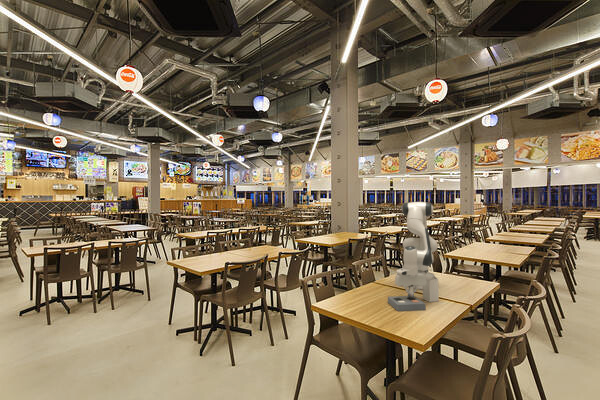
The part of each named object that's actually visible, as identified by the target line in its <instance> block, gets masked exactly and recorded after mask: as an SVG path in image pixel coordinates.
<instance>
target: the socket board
mask: <svg viewBox="0 0 600 400" xmlns="http://www.w3.org/2000/svg"><path fill="white" fill-rule="evenodd" d="M387 303H388V304H389V305H390V306H391V307H393V309H395V311H397V312H413V311H426V309H427V308H426V305H427V304H426V303H425V302H424V301H422V300H421V299H419V298H418V297H416V296H415V295H414V300H409V299H408V295H398V296H397V295H392V296H387Z"/></svg>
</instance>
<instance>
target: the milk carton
mask: <svg viewBox="0 0 600 400" xmlns="http://www.w3.org/2000/svg"><path fill="white" fill-rule="evenodd" d="M439 296H440V295H439V278H438V277H436V275H435V273H433V272H429V271H428V272H427V273H426V285H423V289H422V300H425V301H426V302H429V303H434V302H435V303H436V302H439V301H440V300H439V299H440V298H439Z"/></svg>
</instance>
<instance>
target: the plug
mask: <svg viewBox="0 0 600 400" xmlns="http://www.w3.org/2000/svg"><path fill="white" fill-rule="evenodd" d="M407 289H408V290H409V293H407V294H408V295H407V296H408V299H409V300H414V296H415V292H414V286H413V285H411V286H407Z"/></svg>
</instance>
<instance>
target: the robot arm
mask: <svg viewBox="0 0 600 400" xmlns="http://www.w3.org/2000/svg"><path fill="white" fill-rule="evenodd" d="M401 212H402V215H404V216H406V228H407V230H408V231H409V232H410V233H412V234H414V235H415V236H419V237H407V238H405V239H404V240H403V241H402V248H403V252H402V254H403V255H402V260H403V267H402V268H401V267H400V268H399V269H396V274H395V279H394V284H395V285H396V286H397V287H403V288H404V289H405V292H406V293H407V294H408V293H409V290H408V286H411V285H413V286H414V293H417V289H418V290H423V285H426V273H427V272H429V269H428V268H429V267H430V266H431V265H433V264H434V260H435V259H434V254H433V252H437V249H438V242H437V240H435V239H434V238H433V237H432V236H431V235H430V233H429V230H428V225H427V223H428V221H427V220H428V219H427V217H430V216H432V215H433V212H434V206H433V204H432V203H431V202H427V201H426V202H424V201H416V202H415V201H412V202H404V203H403V204H402V206H401Z"/></svg>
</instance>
